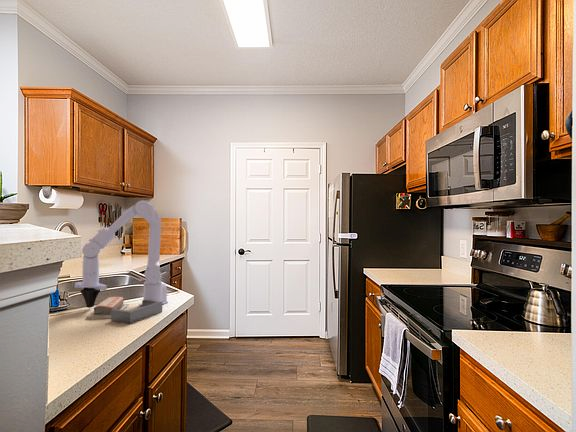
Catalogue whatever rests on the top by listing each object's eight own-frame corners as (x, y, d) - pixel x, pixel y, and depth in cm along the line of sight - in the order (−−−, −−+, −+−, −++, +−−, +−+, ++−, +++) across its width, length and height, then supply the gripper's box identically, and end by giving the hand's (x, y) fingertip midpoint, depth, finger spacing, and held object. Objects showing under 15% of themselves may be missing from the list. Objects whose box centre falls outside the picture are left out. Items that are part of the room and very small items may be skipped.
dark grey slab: (144, 309, 143) (144, 299, 143) (162, 311, 140) (162, 301, 140) (110, 321, 127) (111, 309, 127) (129, 323, 124) (130, 312, 124)
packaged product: (103, 295, 147) (128, 295, 148) (103, 307, 147) (128, 307, 148) (86, 306, 129) (115, 306, 131) (85, 320, 129) (115, 319, 131)
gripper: (68, 273, 140) (67, 307, 140) (96, 275, 135) (95, 311, 135) (83, 270, 147) (83, 303, 147) (111, 272, 142) (110, 307, 142)
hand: (90, 307), depth 142 cm, fingers closed
